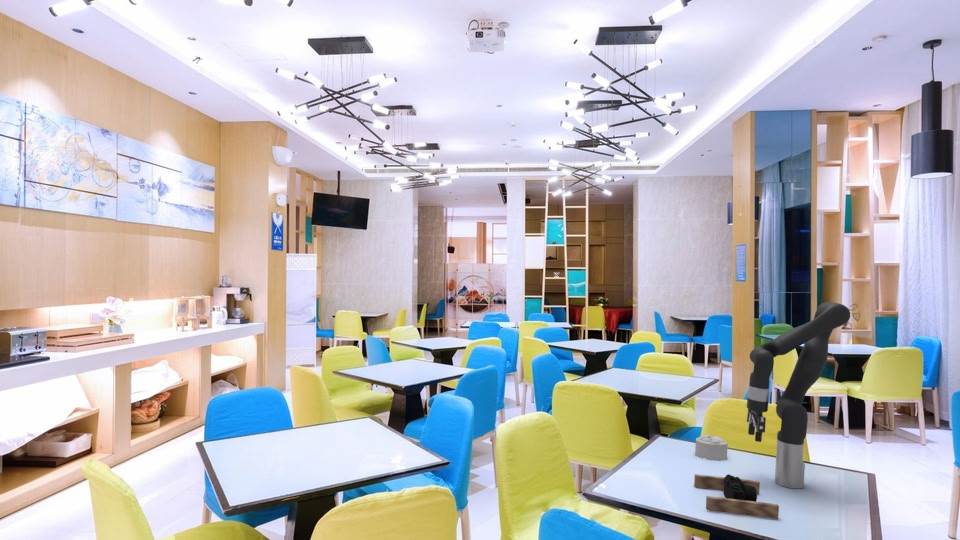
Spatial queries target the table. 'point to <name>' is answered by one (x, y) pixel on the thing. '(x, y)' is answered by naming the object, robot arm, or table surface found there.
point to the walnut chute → (733, 504)
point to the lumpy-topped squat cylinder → (711, 447)
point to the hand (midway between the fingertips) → (754, 437)
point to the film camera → (738, 489)
